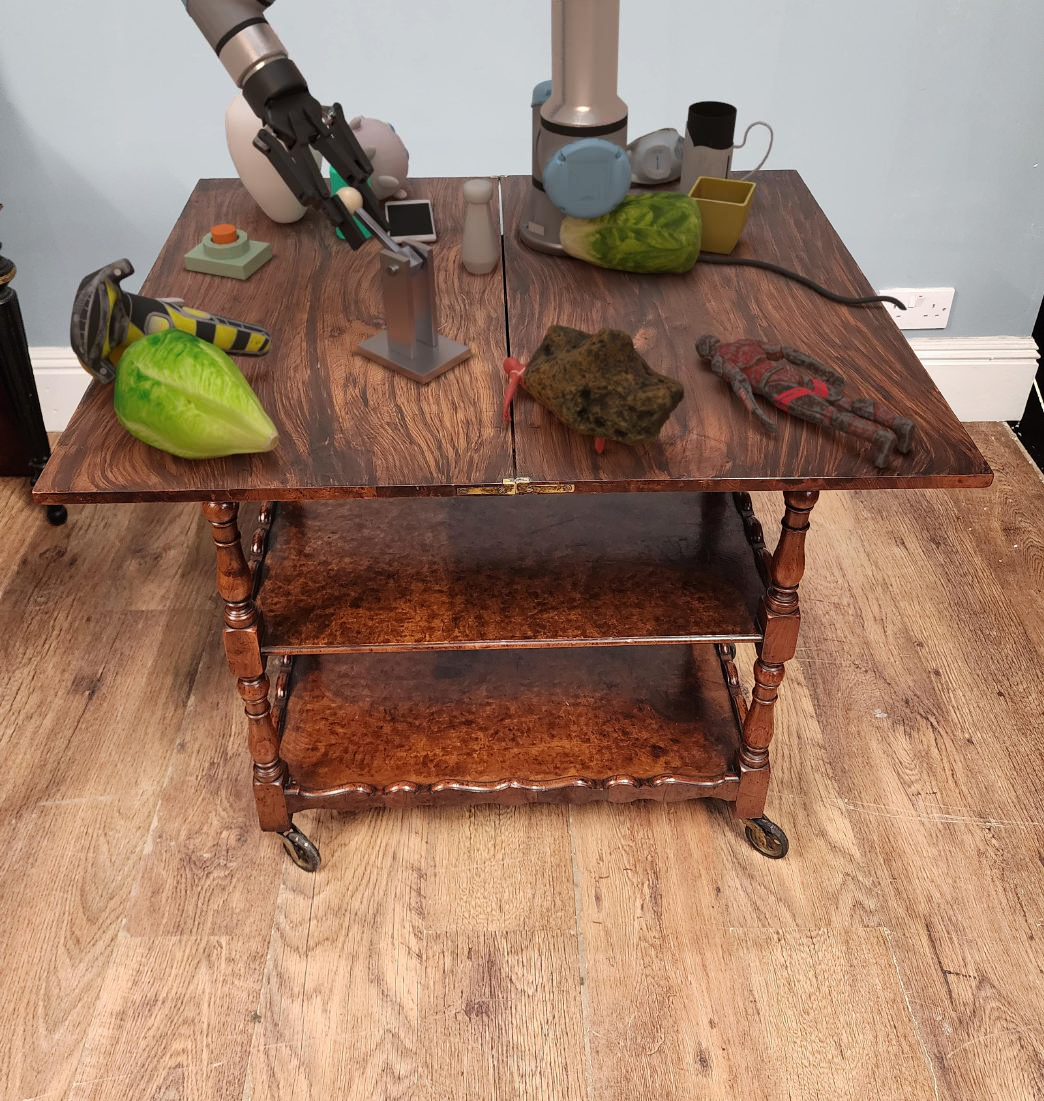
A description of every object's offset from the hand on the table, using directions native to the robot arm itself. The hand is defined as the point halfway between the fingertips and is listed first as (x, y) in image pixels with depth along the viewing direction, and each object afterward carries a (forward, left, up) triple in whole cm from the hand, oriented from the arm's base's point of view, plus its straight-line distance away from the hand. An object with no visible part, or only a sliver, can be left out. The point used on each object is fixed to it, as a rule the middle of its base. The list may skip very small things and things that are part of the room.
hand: (372, 239), depth 135 cm
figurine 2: (-67, +5, -12) cm, 69 cm away
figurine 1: (-37, +12, -13) cm, 41 cm away
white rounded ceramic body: (-21, -60, -9) cm, 64 cm away
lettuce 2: (-25, -32, -15) cm, 43 cm away
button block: (+31, -13, -14) cm, 37 cm away
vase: (+31, -29, -14) cm, 45 cm away
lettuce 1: (+10, +25, -14) cm, 30 cm away
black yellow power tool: (+10, +25, -3) cm, 27 cm away
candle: (+18, -29, -14) cm, 37 cm away
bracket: (-6, +2, -14) cm, 16 cm away
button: (+31, -13, -11) cm, 36 cm away
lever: (0, 0, 0) cm, 0 cm away
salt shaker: (-5, -24, -15) cm, 28 cm away
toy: (+18, -35, -7) cm, 40 cm away
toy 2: (+20, +12, -10) cm, 26 cm away
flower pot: (-36, -43, -15) cm, 58 cm away
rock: (-42, +17, -4) cm, 45 cm away
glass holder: (-33, -58, -14) cm, 68 cm away
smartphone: (+12, -35, -14) cm, 39 cm away
